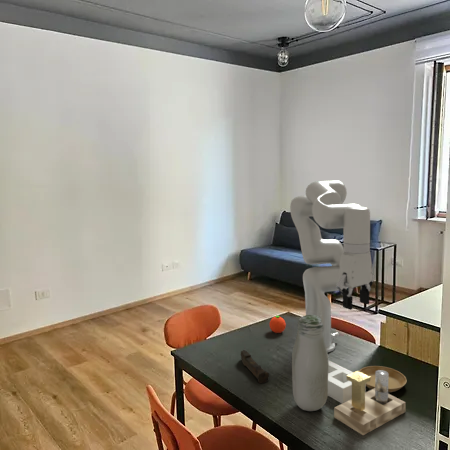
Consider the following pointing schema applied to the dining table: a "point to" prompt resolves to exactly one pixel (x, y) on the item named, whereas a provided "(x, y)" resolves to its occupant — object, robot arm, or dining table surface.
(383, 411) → the socket block
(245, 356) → the hand tool
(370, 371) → the plant saucer
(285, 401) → the dining table surface
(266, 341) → the dining table surface
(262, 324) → the dining table surface
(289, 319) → the dining table surface
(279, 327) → the clementine
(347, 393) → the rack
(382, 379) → the clear glass vial
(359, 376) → the gold square peg
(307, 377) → the glass bottle
